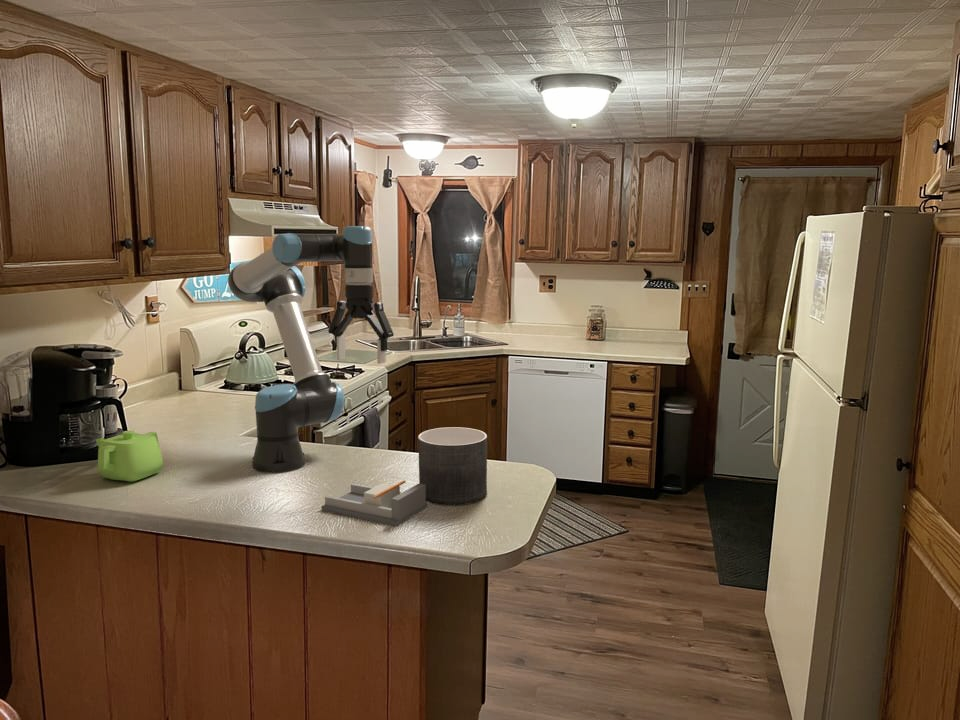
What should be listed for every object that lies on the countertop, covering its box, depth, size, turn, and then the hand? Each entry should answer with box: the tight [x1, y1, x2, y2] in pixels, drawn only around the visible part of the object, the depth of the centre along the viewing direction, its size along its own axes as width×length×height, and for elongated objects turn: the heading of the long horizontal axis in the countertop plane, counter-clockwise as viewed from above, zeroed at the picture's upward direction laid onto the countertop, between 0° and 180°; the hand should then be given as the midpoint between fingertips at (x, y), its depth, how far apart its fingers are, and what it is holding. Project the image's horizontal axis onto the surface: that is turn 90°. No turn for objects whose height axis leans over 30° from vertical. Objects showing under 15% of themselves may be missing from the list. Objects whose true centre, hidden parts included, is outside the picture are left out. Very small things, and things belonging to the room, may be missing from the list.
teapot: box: [95, 430, 164, 483], centre depth 204 cm, size 18×20×13 cm
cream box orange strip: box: [364, 480, 406, 508], centre depth 178 cm, size 6×13×5 cm, turn 153°
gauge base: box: [321, 483, 429, 527], centre depth 179 cm, size 22×14×6 cm, turn 63°
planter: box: [417, 426, 488, 506], centre depth 189 cm, size 18×18×16 cm
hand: (361, 361), depth 200 cm, fingers open, 13 cm apart
